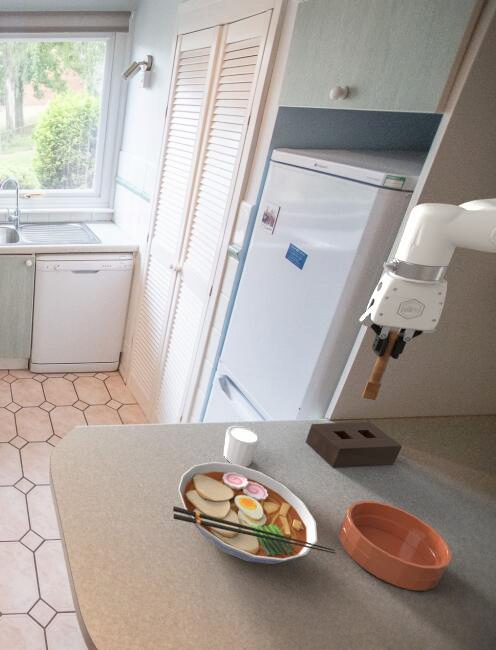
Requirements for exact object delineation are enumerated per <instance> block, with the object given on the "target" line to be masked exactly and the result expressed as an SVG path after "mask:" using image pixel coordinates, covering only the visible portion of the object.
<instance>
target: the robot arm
mask: <svg viewBox="0 0 496 650" xmlns="http://www.w3.org/2000/svg"><path fill="white" fill-rule="evenodd" d="M456 248H461V249H462V248H463V249H469V250H474V251H479V252H484V253H494V254H496V198H485V199H484V198H483V199H475V200H470V201H467V202H464V203H461V204H459V205H455V204H449V203H438V202H424V203H420V204H417V205H416V206H414V208H412V210H411V212H410V215H409V217H408V220H407V223H406V225H405V229H404V232H403V235H402V237H401V240H400V243H399V245H398V248H397V251H396V253H395V256H394V257H393V259H392V260H391V261H384V262H383V265H382V267H383V269H386V270H387V269H388V270H389V271H386V272H385V273H384V274H383V275H382V276H381V279H380V280H379V282H378V284H377V285H376V286H375V289H374V291H373V293H372V295H371V297H370V300H369V302H368V305H367V306H366V311H365V312H364V313H363V314H362V315H361V316H360V318H359V319H358V322H359V323H360V325H362V326H365V327H367V328H370V329H371V330H372V331H373V332H374V333H375V337H374V340H373V343H372V346H371V349H372V351H373V353H374V354H375V355H376V356H377V358H378V357H382V356H383V355H384V353H385V350H386V347H387V345H388V342H389V340H388V339H387V337H388V333H389V330H391V328H395V329H396V328H397V329H398V330H397V331H398V332H400V333H399V336H398V338H397V341H396V344H395V346H394V349H393V351H392V354H391V357H390V358H392V359H394V360H398V359H399V357H400V355H402V354H403V352H404V349H405V347H406V345H407V343H409V342H411V340H412V339H414V338H416V337H419V336H420V335H426V334H433V333H435V332H436V330H437V328H436V327H437V326H438V323H439V321H440V318H441V315H442V312H443V309H444V306H445V303H446V296H447V290H448V281H447V280H445V279H444V277H445V274H446V271H447V269H448V267H449V265H450V262H451V260H452V257H453V255H454V252H455V249H456Z"/></svg>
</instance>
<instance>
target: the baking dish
mask: <svg viewBox="0 0 496 650" xmlns="http://www.w3.org/2000/svg"><path fill="white" fill-rule="evenodd" d="M338 538H339V541H340V543H341V545H342V548H343V549H344V550H345V551H346V552H347V554H348V555H349V556H350V558H351V559H352V560H353V561H355V562H356V563H357V564H358V565H359V566H360V567H362V568H363V569H364V570H366V571H367V572H368V573H370V574H372V575H373V576H374V577H376V578H378V579H380V580H382V581H384V582H386V583H389V584H391V585H393V586H396V587H399V588H402V589H407V590H411V591H428V590H431V589H433V588H436V587H437V585H438V583H439V582H440V580H441V578H442V576H443V575H444V574H445V571H446V570H447V569H448V566H449V564H450V563H451V562H452V560H453V556H452V551H451V547H450V546H449V545H448V543H447V541H445V538H443V536H442V535H440V533H439V532H438V531H436V530H435V529H434V528H433V527H432V526H430V524H428V523H426V522H425V521H423V520H422V519H421V518H419V517H417V516H416V515H413V514H411V513H410V512H408V511H406V510H405V509H402V508H400V507H396V506H394V505H391V504H388V503H385V502H381V501H380V502H379V501H375V500H359V501H356V502H354V503H352V504H351V505H350V506H349V507H348V508H347V510H346V513H345V515H344V518H343V520H342V522H341V524H340V527H339V532H338Z"/></svg>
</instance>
